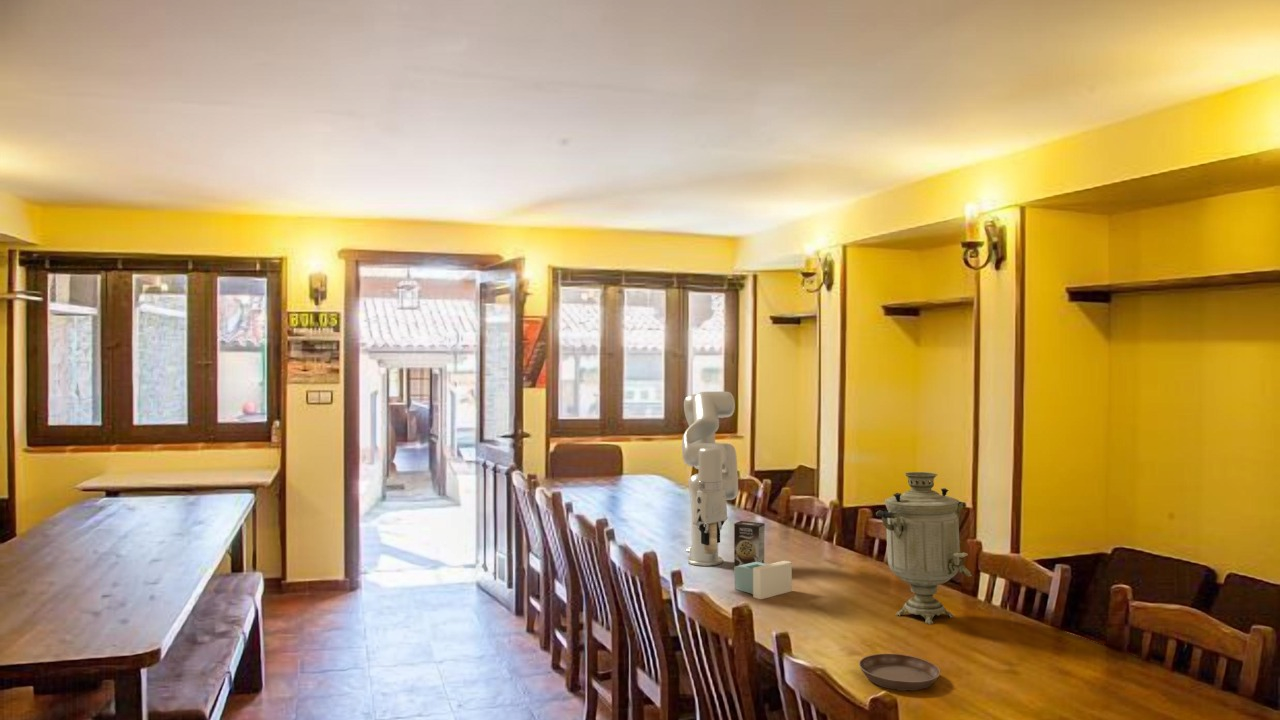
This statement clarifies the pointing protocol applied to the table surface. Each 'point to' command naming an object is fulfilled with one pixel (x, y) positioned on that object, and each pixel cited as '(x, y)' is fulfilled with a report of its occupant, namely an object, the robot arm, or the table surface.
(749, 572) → the green square container
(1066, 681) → the table surface
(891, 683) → the plant saucer
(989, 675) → the table surface
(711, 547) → the dowel
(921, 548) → the samovar
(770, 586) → the block
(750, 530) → the coffee box
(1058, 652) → the table surface
